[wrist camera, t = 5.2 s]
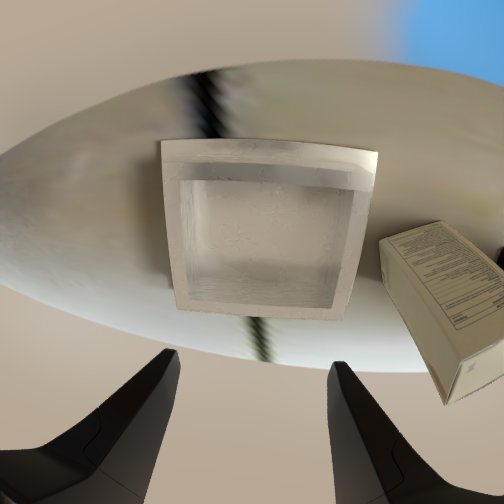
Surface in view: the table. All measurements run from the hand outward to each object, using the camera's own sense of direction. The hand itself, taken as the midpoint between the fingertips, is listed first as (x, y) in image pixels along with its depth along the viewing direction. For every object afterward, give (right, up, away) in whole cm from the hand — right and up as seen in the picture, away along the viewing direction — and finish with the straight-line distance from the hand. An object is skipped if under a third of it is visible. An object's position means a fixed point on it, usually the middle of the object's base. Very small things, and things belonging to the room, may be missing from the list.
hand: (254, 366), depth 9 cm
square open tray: (+1, +6, +11) cm, 12 cm away
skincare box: (+13, +4, +11) cm, 17 cm away
